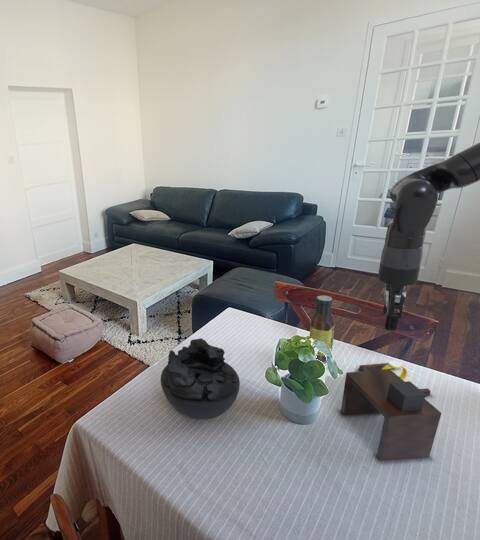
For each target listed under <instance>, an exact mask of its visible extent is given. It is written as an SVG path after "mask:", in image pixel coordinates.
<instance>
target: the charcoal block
mask: <svg viewBox="0 0 480 540" xmlns="http://www.w3.org/2000/svg"><path fill="white" fill-rule="evenodd" d="M420 389H421V388H419V387H418V386H416V385H415V384H414V383H413V382H411V380H408V381H404V382H395V383H390V386H389V391H388V395H387V399H389V400H390V401H391V402H392V403H393V404H394V405H395V406H396V407H397V408H398V409H399V410H400V411H401V412H407V411H420V410H422V407H423V403H424V399H426V396H425V395H426V394H424V393H423V392H422V391H421V390H420Z"/></svg>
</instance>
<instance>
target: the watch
mask: <svg viewBox="0 0 480 540" xmlns="http://www.w3.org/2000/svg"><path fill="white" fill-rule="evenodd" d="M387 363H388V365H386V366H384V367H383V369H390V370H392V369H391V368H394V369H393V370H400V369H402V372H401V374H400V375H398V377H400V378H401V379H402V380H403V381H405V380H406V378H407V376H408V370H407V368H406V367H405V366H404V365H403V364H402V363H401V362H399V361H396V360H389V361H388V362H387ZM383 369H382V370H383Z"/></svg>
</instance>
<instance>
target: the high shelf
mask: <svg viewBox="0 0 480 540" xmlns="http://www.w3.org/2000/svg"><path fill="white" fill-rule="evenodd" d="M395 382H405V380H402V379H401V378H400V377H399V375H398V374H396V373H395V372H394V371H393V370H392V369H383V370H371V371H360V370H358V371H349V372H346V373H345V379H344V386H343V392H342V393H343V394H342V400H341V406H340V413H341V414H342V415H343V416H351V415H352V416H353V415H364V414H367V415H368V414H377V413H379V414H381V416H383V417H384V418H383V423H382V428H381V432H380V438H379V441H378V447H377V452H376V457H377V459H378V460H379V461H380V462H383V461H384V462H385V461H398V460H399V461H400V460H411V459H412V460H415V459H425V458H426V459H427V458H430V457H431V452H432V449H433V445H434V441H435V438H436V435H437V431H438V427H439V424H440V420H441V418H442V412H441V411H440V410H439V409H438V408H437V407H435V406H434V405H433V404H432V403H430V401H428V400H427V399H426V398H425V399H424V403H423V407H422V410H420V411H407V412H401V411H400V410H399V409H398V408H397V407H396V406H395V405H394V404H393V403H392V402H391V401H390V400H389V399H387V395H388V391H389V386H390V383H395Z"/></svg>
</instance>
